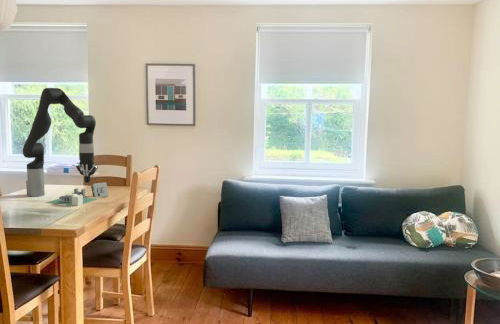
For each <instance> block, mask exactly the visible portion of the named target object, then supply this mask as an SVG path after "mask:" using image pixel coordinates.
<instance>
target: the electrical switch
mask: <svg viewBox="0 0 500 324" xmlns="http://www.w3.org/2000/svg"><path fill="white" fill-rule="evenodd" d="M90 187H91V193H92V197H93V198H96V199H100V198H101V199H102V198H107V197H109V190H108V185H107V181H106V182H97V183H91V186H90Z"/></svg>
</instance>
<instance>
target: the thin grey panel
mask: <svg viewBox="0 0 500 324" xmlns="http://www.w3.org/2000/svg"><path fill="white" fill-rule="evenodd" d="M71 194H77V195H81V191H78V192H75V193H74V192H72V193H71ZM69 197H72V196H66V194H65V195H62V196H59V197H58V199H66V198H69Z"/></svg>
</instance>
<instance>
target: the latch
mask: <svg viewBox="0 0 500 324" xmlns="http://www.w3.org/2000/svg"><path fill="white" fill-rule="evenodd" d="M65 195H66V196H72V205H71V206H75V205H76V206H77V207H78V206H82V205H84V204H83V195H81V194H80V195H77V194H72V193H68V194H67V193H66V194H65Z"/></svg>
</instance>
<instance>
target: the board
mask: <svg viewBox="0 0 500 324" xmlns="http://www.w3.org/2000/svg"><path fill="white" fill-rule="evenodd" d="M75 192H79V188H77V187H76V188H74V189H73V193H75ZM80 192H81V194H80V195H83V198H84V200H83V204H82V205H84V204H88V203H91V202H93V201H94V202H95V201H97V200H98V198H96V197H93V198H92V197H86V188H82V189H80ZM60 200H61V199H59V198H58V199H54V200H50V201H47V202H45V204H53V205H65V206H73V205H72V203H66V202H60ZM74 206H76V205H74Z"/></svg>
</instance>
